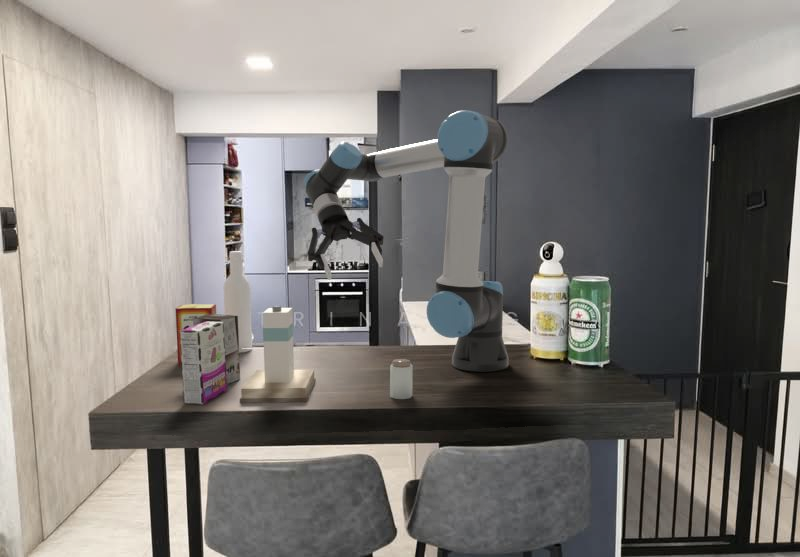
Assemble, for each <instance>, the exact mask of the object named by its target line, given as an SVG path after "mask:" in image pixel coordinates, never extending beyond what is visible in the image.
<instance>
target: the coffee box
mask: <svg viewBox="0 0 800 557" xmlns="http://www.w3.org/2000/svg"><path fill="white" fill-rule="evenodd" d="M207 321H211V322H212V321H216V322H224V323H223V324H224V342H225V361H226V380H227V385H228V384H231V383H234V382H236V381H240V379H241V371H240V370H241V365H240V362H241V361H240V353H239V336H238V316H233V315H225V314H220V313H218V314H217V313H216V314H208V315H203V316H200V317H196V318H193V326H195V325H197V324H200V323H203V322H207Z"/></svg>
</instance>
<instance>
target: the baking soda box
mask: <svg viewBox="0 0 800 557" xmlns="http://www.w3.org/2000/svg"><path fill="white" fill-rule="evenodd" d="M208 314H217V304H216V303H214V304H205V303H204V304H203V303H201V304H199V303H191V304H182V305H179V306H177V307H175V326H176V327H175V328H176V330H175V331H176V346H177V347H176V348H177V365H178V364H182V360H181V344H180V331H181V330H184V329H186V328H189V327H192V326H193V318H196V317H200V316H203V315H208Z"/></svg>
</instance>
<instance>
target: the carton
mask: <svg viewBox="0 0 800 557" xmlns="http://www.w3.org/2000/svg"><path fill="white" fill-rule="evenodd" d="M293 320H294V319H293V307H282V306H281V305H273V306H272V307H268V308H266V309H265V311H263V312H262V336H263V338H262V340H263V363H264V368H263V370H265V383H282V382H290V380H291V379H292V377H293V375H294V370H295V359H294V355H295V354H294V321H293Z"/></svg>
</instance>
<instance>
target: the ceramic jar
mask: <svg viewBox="0 0 800 557" xmlns="http://www.w3.org/2000/svg"><path fill="white" fill-rule="evenodd" d="M389 366H390V367H389V368H390V369H389V372H390V373H389V374H390V376H389V378H390V379H389V397H390V398H392V399H396V400H407V399H408V400H409V399H411V398H412V397H413V372H414V371H413V369H414V367H413V364H412V363H411V360H410V359H406V358H397V359H393V360H392V363H391V364H390V365H389Z"/></svg>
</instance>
